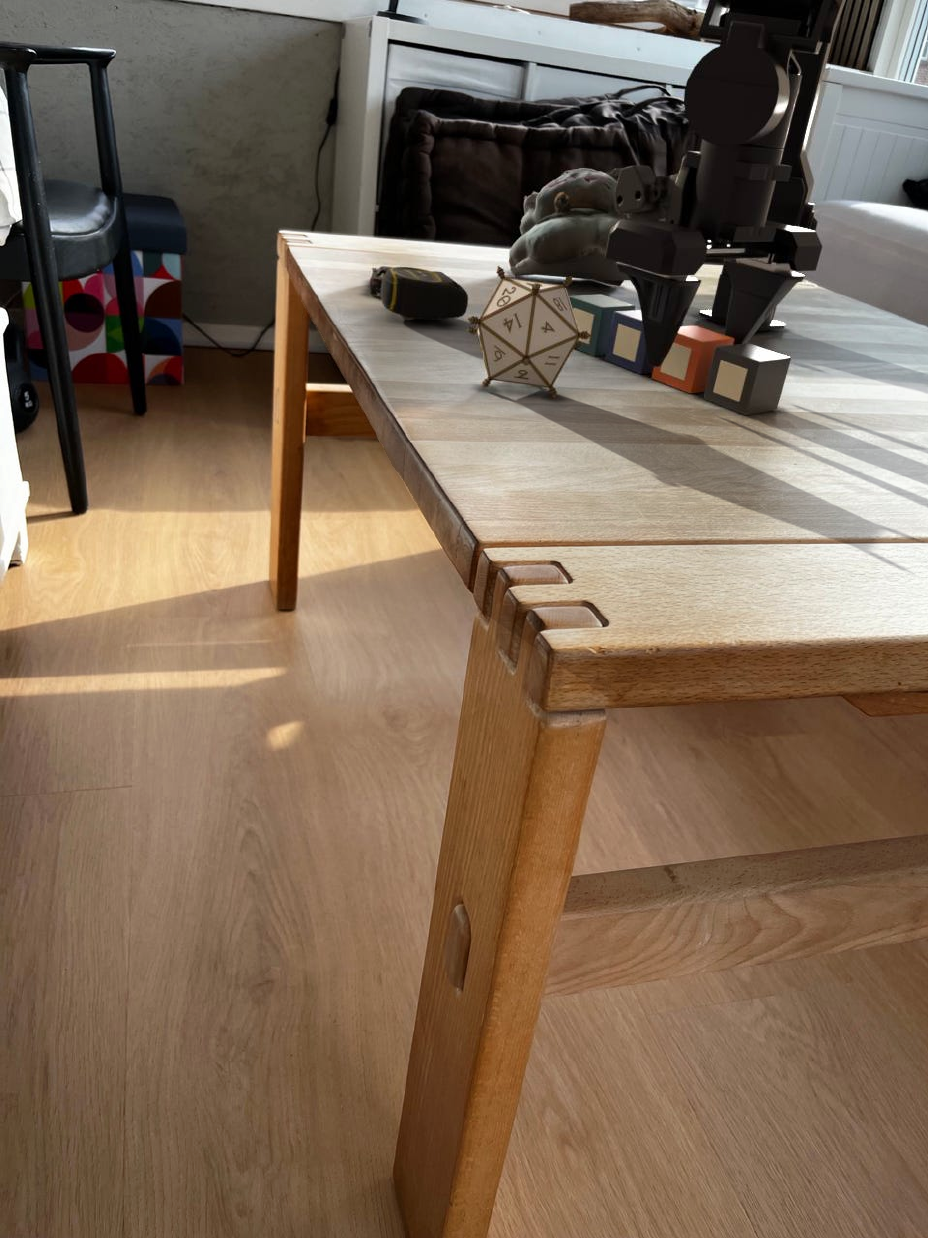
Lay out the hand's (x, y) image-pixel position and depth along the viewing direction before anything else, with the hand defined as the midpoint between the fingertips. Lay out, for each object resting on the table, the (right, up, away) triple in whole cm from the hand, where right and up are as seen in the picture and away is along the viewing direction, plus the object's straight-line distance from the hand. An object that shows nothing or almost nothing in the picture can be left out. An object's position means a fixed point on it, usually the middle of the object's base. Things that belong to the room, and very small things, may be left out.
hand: (692, 360), depth 80 cm
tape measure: (-21, +6, +10) cm, 24 cm away
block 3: (+3, -4, -2) cm, 6 cm away
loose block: (0, -2, +1) cm, 2 cm away
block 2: (-3, +1, +4) cm, 6 cm away
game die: (-14, -4, -6) cm, 16 cm away
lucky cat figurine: (-7, +17, +34) cm, 39 cm away
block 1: (-7, +3, +8) cm, 11 cm away
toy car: (-25, +11, +18) cm, 33 cm away
